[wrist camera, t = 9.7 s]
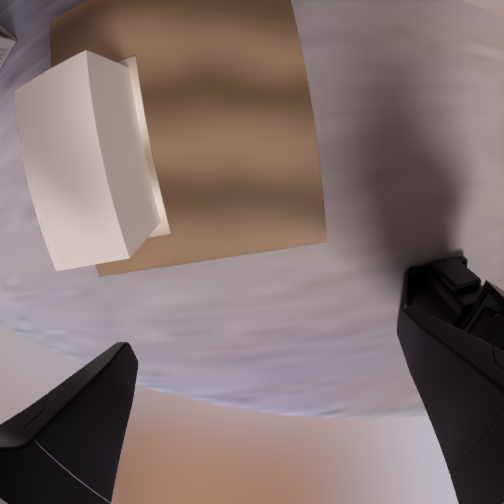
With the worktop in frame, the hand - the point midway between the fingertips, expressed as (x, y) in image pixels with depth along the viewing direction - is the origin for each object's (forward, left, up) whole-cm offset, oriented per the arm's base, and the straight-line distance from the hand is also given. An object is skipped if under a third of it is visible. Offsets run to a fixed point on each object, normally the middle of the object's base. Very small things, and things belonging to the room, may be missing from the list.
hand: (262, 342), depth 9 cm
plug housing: (+7, +8, -10) cm, 14 cm away
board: (+9, +4, -12) cm, 15 cm away
